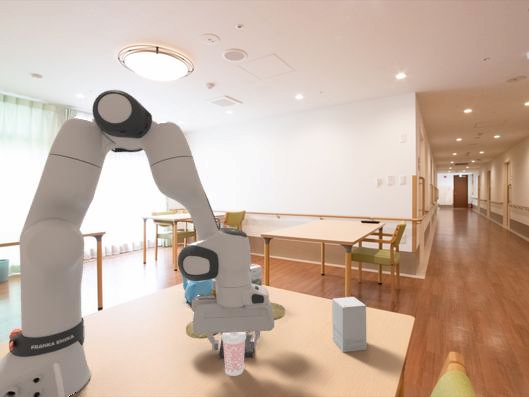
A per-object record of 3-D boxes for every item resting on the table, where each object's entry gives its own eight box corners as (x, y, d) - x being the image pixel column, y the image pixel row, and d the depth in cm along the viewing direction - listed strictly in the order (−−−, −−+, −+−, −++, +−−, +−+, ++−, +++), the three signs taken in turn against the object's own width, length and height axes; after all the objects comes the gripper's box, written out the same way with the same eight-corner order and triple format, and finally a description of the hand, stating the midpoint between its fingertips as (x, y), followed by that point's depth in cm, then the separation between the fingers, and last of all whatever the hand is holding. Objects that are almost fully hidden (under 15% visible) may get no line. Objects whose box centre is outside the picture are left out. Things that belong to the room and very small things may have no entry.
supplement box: (367, 350, 78) (367, 305, 78) (342, 352, 77) (342, 307, 77) (354, 336, 86) (354, 296, 85) (331, 339, 84) (331, 297, 84)
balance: (182, 362, 73) (182, 321, 73) (189, 342, 83) (189, 305, 83) (287, 356, 76) (287, 316, 75) (282, 337, 86) (282, 301, 85)
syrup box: (253, 296, 120) (252, 263, 119) (262, 300, 115) (262, 265, 115) (242, 300, 116) (242, 265, 116) (251, 304, 111) (251, 268, 111)
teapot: (184, 308, 108) (184, 282, 108) (180, 295, 122) (179, 272, 122) (221, 302, 114) (221, 277, 114) (213, 290, 128) (213, 268, 128)
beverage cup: (217, 371, 69) (216, 315, 69) (234, 359, 74) (233, 307, 74) (235, 381, 66) (234, 322, 66) (251, 368, 71) (251, 313, 70)
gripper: (189, 299, 66) (189, 357, 66) (275, 296, 68) (275, 352, 68) (193, 290, 72) (194, 343, 72) (272, 287, 74) (272, 339, 74)
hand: (234, 347), depth 70 cm, fingers open, 8 cm apart
